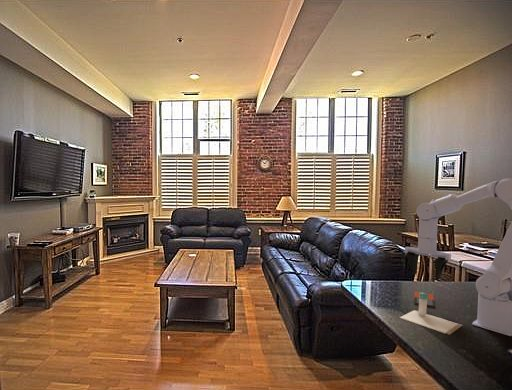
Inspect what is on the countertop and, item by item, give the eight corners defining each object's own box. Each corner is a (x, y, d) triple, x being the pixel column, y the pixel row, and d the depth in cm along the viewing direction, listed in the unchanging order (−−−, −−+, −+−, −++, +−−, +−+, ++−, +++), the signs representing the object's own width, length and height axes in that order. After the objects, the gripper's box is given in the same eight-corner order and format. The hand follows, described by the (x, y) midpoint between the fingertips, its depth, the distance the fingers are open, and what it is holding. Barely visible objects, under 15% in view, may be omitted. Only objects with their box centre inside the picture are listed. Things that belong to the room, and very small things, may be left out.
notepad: (462, 325, 96) (462, 324, 96) (449, 335, 90) (449, 333, 90) (414, 311, 107) (414, 310, 107) (399, 318, 100) (399, 317, 100)
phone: (433, 294, 123) (435, 306, 110) (433, 297, 123) (435, 310, 110) (414, 291, 126) (414, 302, 112) (414, 294, 126) (414, 306, 112)
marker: (427, 315, 102) (429, 293, 102) (424, 317, 101) (426, 295, 100) (419, 313, 104) (421, 291, 104) (416, 314, 102) (418, 293, 102)
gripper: (455, 239, 109) (453, 279, 110) (411, 234, 120) (409, 270, 121) (447, 241, 105) (445, 283, 105) (402, 235, 116) (400, 273, 116)
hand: (425, 276), depth 113 cm, fingers open, 7 cm apart
